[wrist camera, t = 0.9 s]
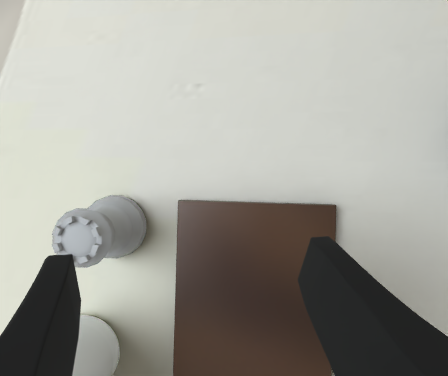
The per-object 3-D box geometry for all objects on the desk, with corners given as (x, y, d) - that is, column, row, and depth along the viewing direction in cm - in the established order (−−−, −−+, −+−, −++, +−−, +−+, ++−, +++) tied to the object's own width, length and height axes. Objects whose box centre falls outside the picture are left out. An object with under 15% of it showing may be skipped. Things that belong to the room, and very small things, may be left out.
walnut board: (325, 411, 29) (329, 420, 27) (174, 406, 29) (171, 415, 27) (331, 204, 29) (336, 205, 27) (180, 199, 29) (178, 200, 27)
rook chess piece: (124, 268, 29) (85, 299, 21) (74, 232, 29) (15, 250, 21) (160, 218, 29) (134, 230, 21) (110, 182, 29) (65, 180, 21)
